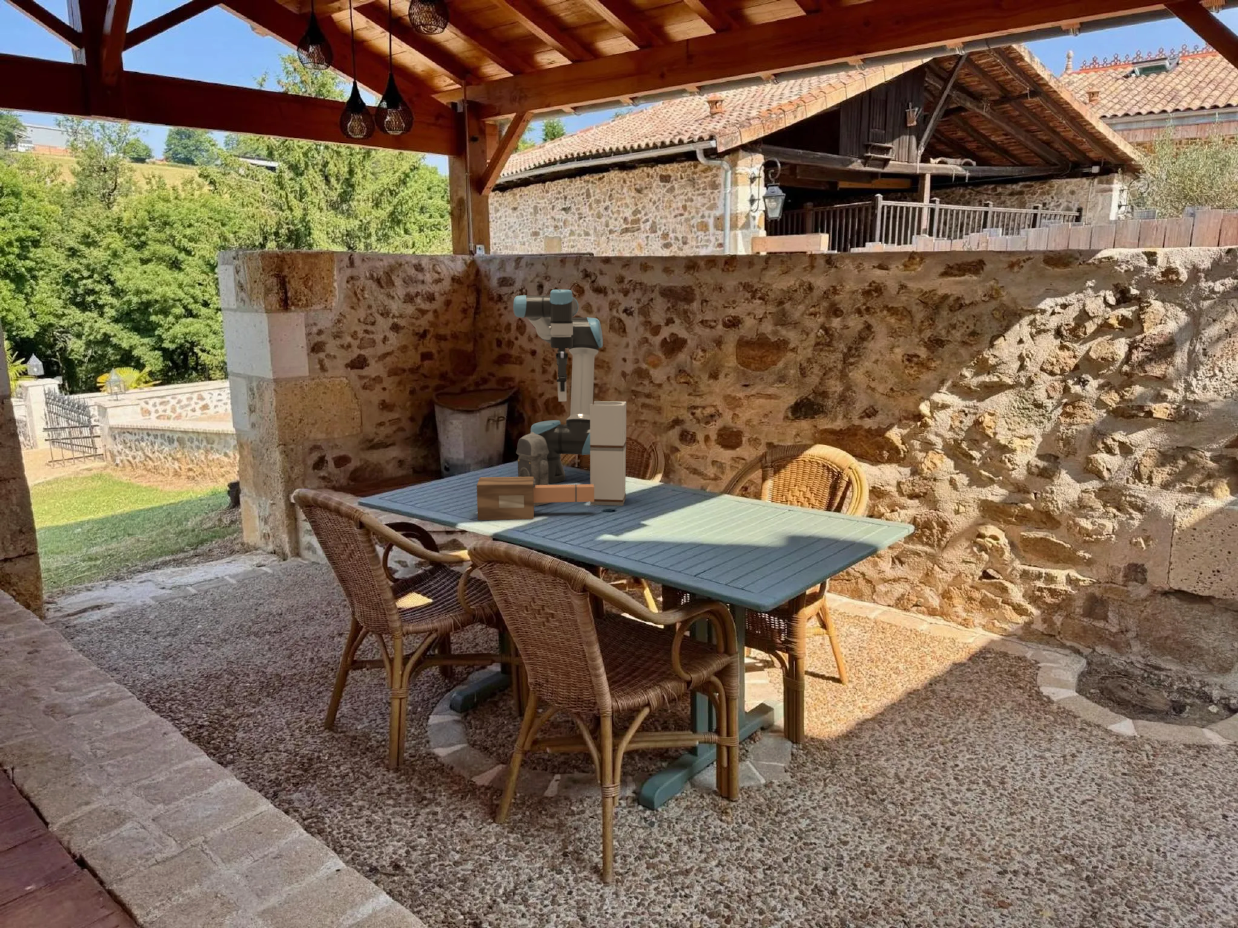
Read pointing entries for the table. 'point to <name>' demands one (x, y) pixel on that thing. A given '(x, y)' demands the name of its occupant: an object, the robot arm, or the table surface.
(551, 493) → the orange banded bar
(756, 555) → the table surface
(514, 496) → the box
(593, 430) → the beige square tower
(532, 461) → the grey backpack
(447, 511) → the table surface
